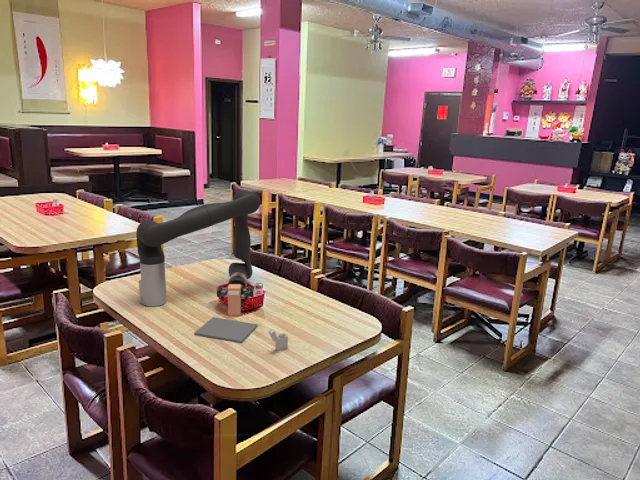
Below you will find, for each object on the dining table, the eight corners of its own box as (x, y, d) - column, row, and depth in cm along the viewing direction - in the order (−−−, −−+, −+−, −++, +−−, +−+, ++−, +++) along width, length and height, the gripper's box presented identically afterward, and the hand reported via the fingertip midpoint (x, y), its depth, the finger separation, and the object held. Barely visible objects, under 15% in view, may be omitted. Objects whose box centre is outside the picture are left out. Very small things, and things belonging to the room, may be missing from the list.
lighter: (284, 345, 164) (285, 323, 162) (287, 347, 163) (288, 325, 161) (267, 351, 160) (268, 329, 157) (270, 353, 158) (271, 331, 156)
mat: (194, 334, 169) (194, 332, 169) (213, 319, 182) (213, 317, 182) (241, 343, 164) (241, 341, 164) (257, 326, 177) (257, 324, 177)
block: (227, 315, 186) (227, 288, 183) (229, 310, 190) (229, 284, 187) (239, 315, 186) (239, 288, 183) (240, 310, 190) (240, 284, 188)
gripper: (219, 274, 199) (215, 289, 183) (254, 275, 200) (252, 289, 185) (220, 292, 201) (215, 307, 185) (254, 292, 202) (252, 307, 186)
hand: (234, 298), depth 185 cm, fingers open, 8 cm apart
